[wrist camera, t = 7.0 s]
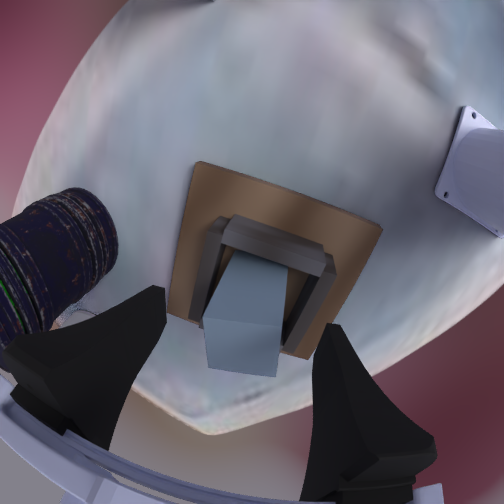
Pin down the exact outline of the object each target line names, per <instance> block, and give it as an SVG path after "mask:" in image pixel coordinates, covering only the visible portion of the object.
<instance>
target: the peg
mask: <svg viewBox="0 0 504 504" xmlns="http://www.w3.org/2000/svg"><path fill="white" fill-rule="evenodd" d="M287 274H288V266H286V265H283V264H280V263H277V262H274V261H272V260H269V259H266V258H263V257H260V256H257V255H254V254H251V253H249V252H246V251H240V250H235V252H234V254H233V256H232V258H231V260H230V262H229V264H228V266H227V268H226V270H225V272H224V274H223V276H222V278H221V280H220V282H219V284H218V286H217V288H216V290H215V292H214V294H213V296H212V298H211V300H210V303H209V305H208V307H207V309H206V311H205V313H204V315H203V326H204V335H205V343H206V352H207V360H208V367H209V368H213V369H219V370H225V371H231V372H238V373H245V374H253V375H261V376H269V377H276V372H277V364H278V356H279V349H280V340H281V332H282V324H283V314H284V305H285V295H286V285H287Z"/></svg>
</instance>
